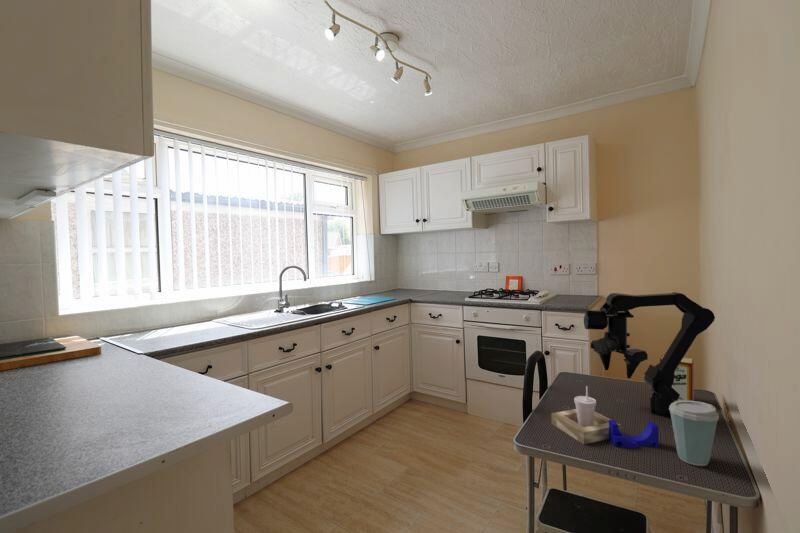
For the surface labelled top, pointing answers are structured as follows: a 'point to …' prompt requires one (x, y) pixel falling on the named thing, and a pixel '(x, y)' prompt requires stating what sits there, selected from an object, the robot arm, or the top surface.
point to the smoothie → (585, 409)
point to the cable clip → (644, 439)
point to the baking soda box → (684, 379)
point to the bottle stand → (582, 434)
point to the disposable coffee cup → (694, 430)
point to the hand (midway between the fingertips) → (617, 373)
